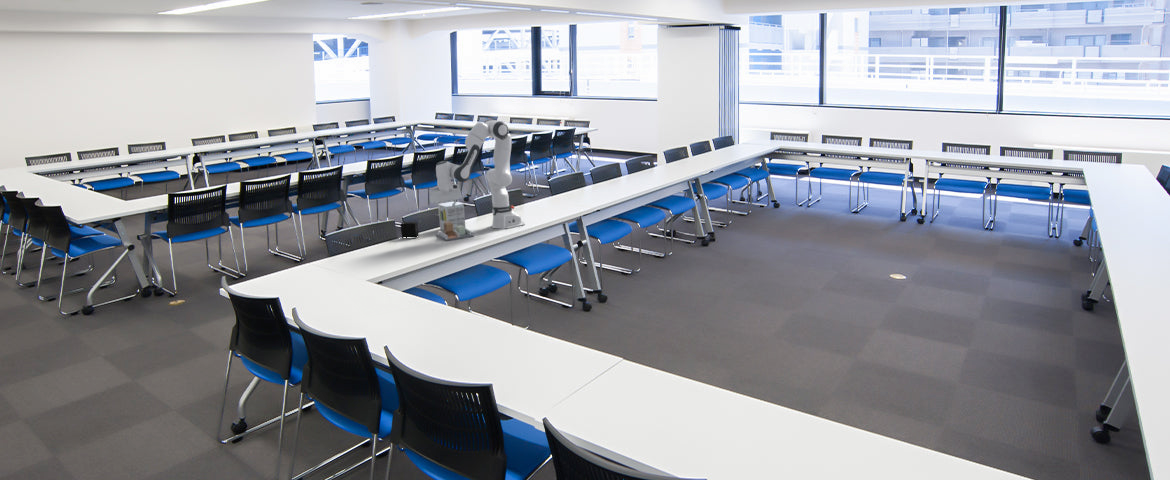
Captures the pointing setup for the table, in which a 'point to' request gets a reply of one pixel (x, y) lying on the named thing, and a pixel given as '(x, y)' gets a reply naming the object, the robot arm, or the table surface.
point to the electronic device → (409, 229)
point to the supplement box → (451, 214)
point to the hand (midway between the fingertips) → (446, 207)
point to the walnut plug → (448, 229)
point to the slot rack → (456, 234)
